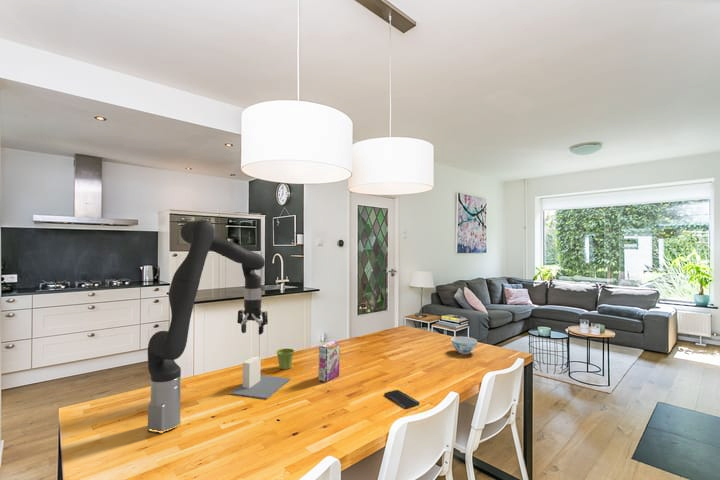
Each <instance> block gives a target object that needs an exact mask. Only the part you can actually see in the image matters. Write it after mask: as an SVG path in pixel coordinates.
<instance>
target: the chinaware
mask: <svg viewBox="0 0 720 480" xmlns="http://www.w3.org/2000/svg"><path fill="white" fill-rule="evenodd" d="M450 340H451V344H452V347H453V348H454V349H455V350H456V351H457V352H458V354H460V353H461V355H469V354H470V353H471V352H472V351H473V350H475V348H476V346H477V343H478V340H477V339H475V338H473V337H469V336H453V337H451V338H450Z"/></svg>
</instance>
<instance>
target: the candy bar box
mask: <svg viewBox="0 0 720 480" xmlns="http://www.w3.org/2000/svg"><path fill="white" fill-rule="evenodd" d="M340 348H341V343H340V342H339V341H333V340H332V341H329V342H326V343H323V344H322V345H319V346H318V381H319V382H323V383H327V382H330V381H331V380H333V379H336V378H337V377H338V376H340V355H341V349H340Z"/></svg>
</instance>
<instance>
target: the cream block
mask: <svg viewBox="0 0 720 480" xmlns="http://www.w3.org/2000/svg"><path fill="white" fill-rule="evenodd" d="M261 358H262V357H261V356H253V357H251V358H249V359H247V360H245V361H243V362H242V381H241V382H242V384H241V385H242V387H243V388H250V387H252V386H253V385H255V384H256V383H258V382H259V381H260V375H261V362H262V361H261Z"/></svg>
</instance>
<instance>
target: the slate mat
mask: <svg viewBox="0 0 720 480" xmlns="http://www.w3.org/2000/svg"><path fill="white" fill-rule="evenodd" d="M290 379H292V378H290V377H282V376H272V375H264V374H260V381H259V382H258V383H256V384H255V385H253V386H252V387H250V388H243V387H242V384H240V385H239V386H238V387H236V388H234V389H233V390H231V391H230V392H229V393H231V394H237V395H236V396H238V395H244V396H243V397H246V396H249V397H248V398H253V397H255V399H260V398H261V399H262V400H268V399H269V398H270V397H271V396H273V395H274V394H275V393H277V392H278V391H279V390H280V389H281V388H283V387H284V386H285V385H286V384H287V383H288V382H290V381H291V380H290ZM289 380H290V381H289ZM284 384H285V385H284ZM283 385H284V386H283ZM279 388H280V389H279ZM278 389H279V390H278ZM273 393H274V394H273ZM231 394H230V395H231ZM272 394H273V395H272Z"/></svg>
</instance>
